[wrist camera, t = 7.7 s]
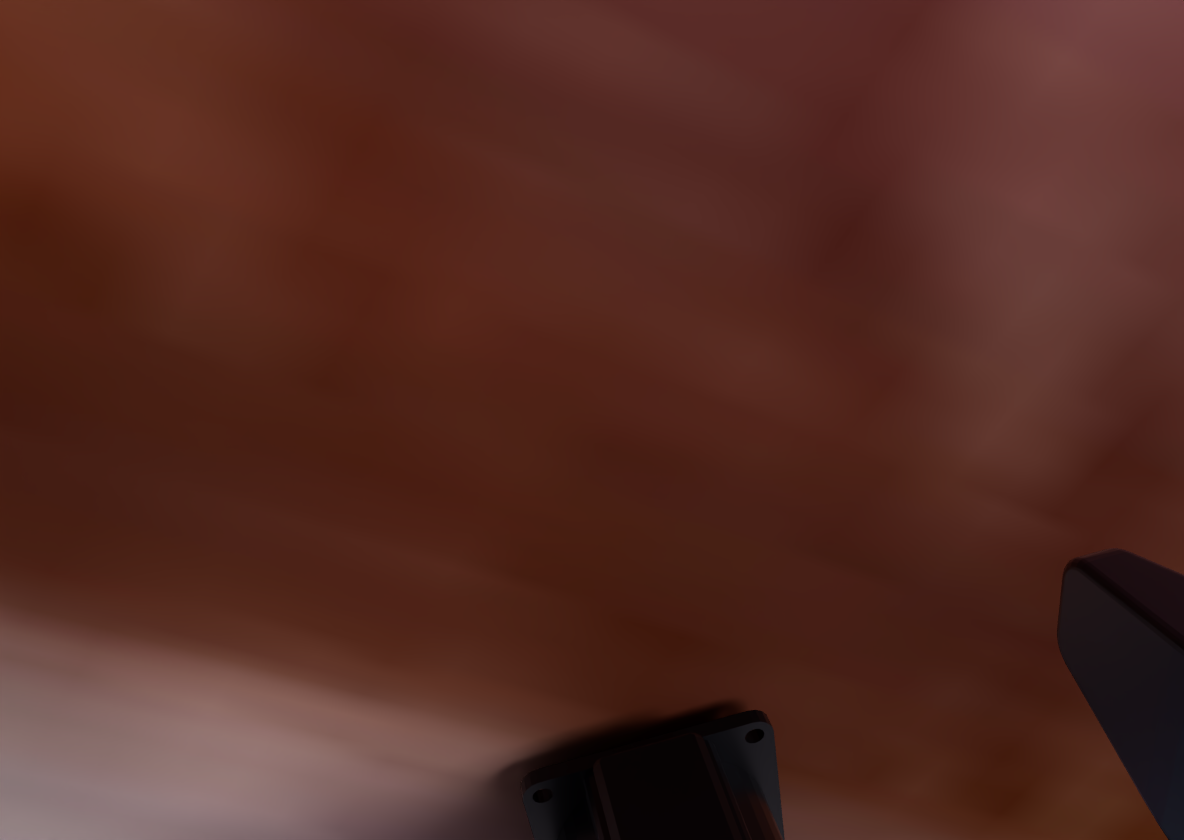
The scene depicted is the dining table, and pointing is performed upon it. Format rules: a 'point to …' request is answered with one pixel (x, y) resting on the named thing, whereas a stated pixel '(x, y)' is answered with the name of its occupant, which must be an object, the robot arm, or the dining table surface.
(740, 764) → the robot arm
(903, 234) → the dining table surface
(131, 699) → the dining table surface
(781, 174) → the dining table surface
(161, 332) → the dining table surface
